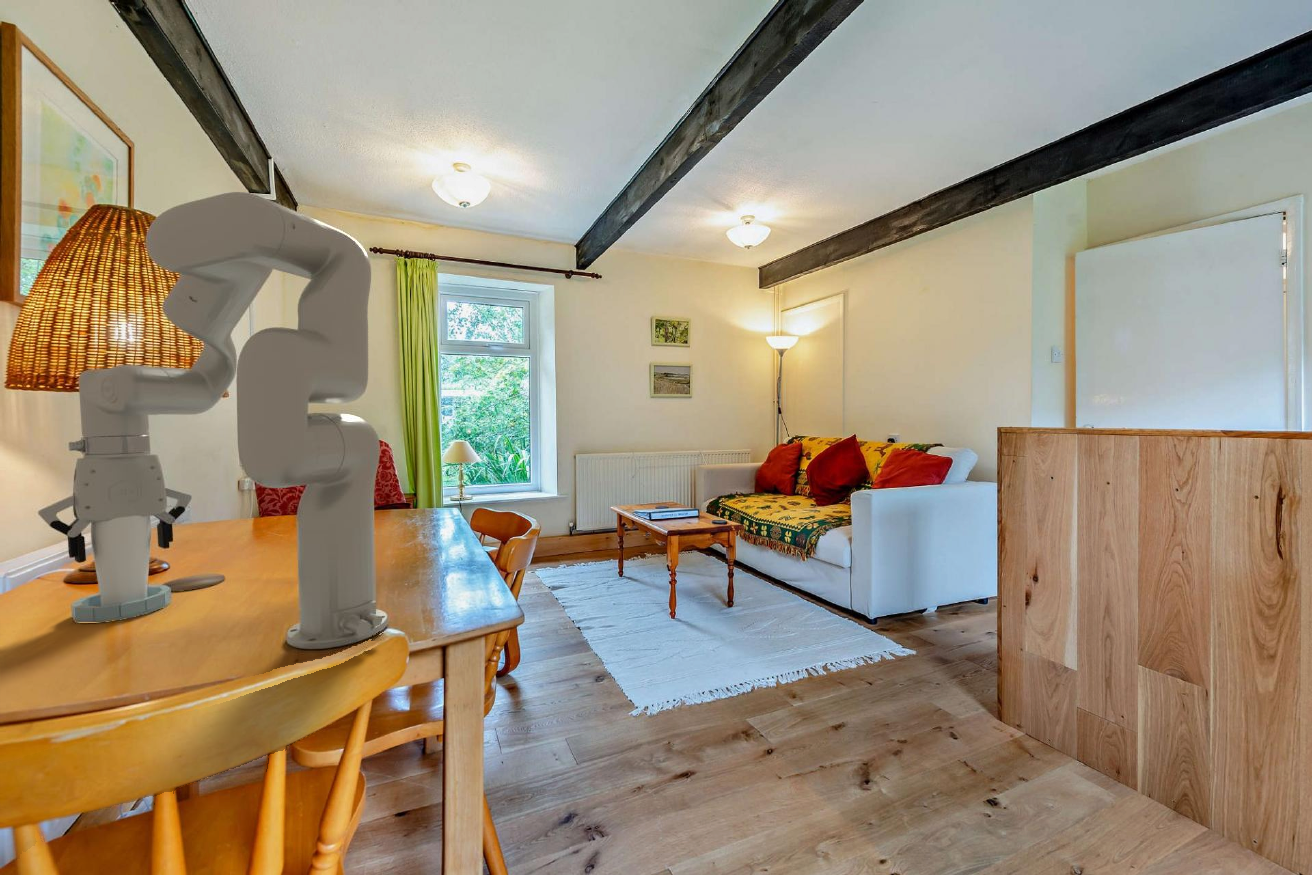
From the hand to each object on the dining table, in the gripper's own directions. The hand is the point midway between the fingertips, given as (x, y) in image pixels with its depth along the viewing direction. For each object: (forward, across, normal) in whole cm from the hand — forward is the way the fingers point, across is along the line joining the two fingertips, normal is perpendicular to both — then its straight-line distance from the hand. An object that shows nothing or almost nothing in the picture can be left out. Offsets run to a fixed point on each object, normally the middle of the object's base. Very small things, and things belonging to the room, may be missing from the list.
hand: (124, 554), depth 85 cm
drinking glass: (+9, 0, +1) cm, 9 cm away
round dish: (+9, 0, +1) cm, 9 cm away
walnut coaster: (+9, +11, +9) cm, 17 cm away
